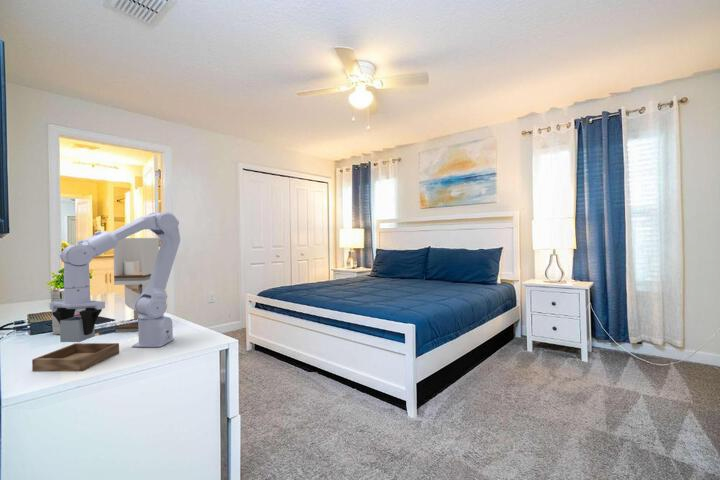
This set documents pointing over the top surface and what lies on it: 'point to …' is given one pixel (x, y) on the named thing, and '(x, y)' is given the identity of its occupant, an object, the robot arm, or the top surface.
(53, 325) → the candy bar box
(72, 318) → the grey crate
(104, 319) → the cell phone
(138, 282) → the display case
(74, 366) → the walnut crate
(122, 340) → the top surface
